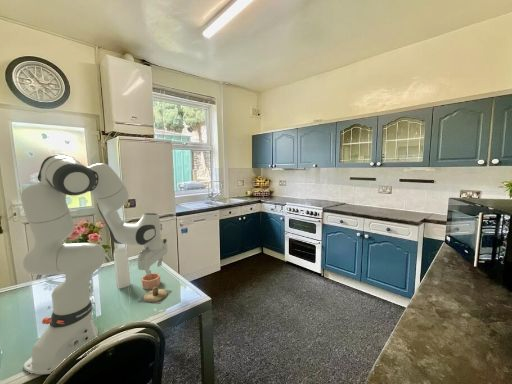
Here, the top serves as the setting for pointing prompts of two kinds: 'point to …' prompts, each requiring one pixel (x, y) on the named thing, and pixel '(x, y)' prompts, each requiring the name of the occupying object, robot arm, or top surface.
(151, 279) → the bowl
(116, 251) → the milk
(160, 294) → the lid
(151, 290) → the mat
